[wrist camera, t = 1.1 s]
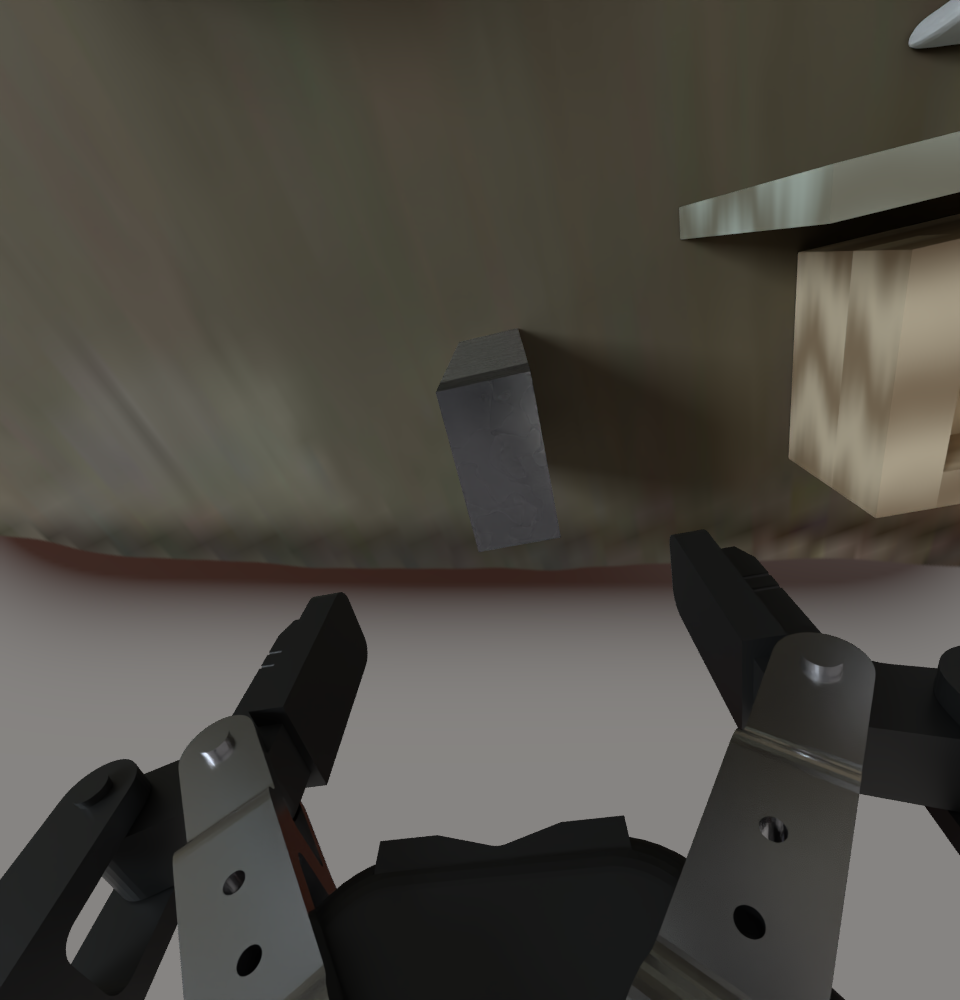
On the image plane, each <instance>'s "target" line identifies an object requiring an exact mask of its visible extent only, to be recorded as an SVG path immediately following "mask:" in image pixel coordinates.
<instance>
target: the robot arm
mask: <svg viewBox="0 0 960 1000" xmlns="http://www.w3.org/2000/svg"><path fill="white" fill-rule="evenodd" d="M670 555H671V569H672V582H673V592H674V598H675V602H676V606H677V609H678V612H679V614H680V616H681V618H682V620H683V622H684V624H685V626H686V628H687V630H688V632H689V634H690V636H691V638H692V640H693V642H694V644H695V645H696V647H697V649H698V651H699V653H700V655H701V657H702V659H703V661H704V663H705V665H706V667H707V669H708V670H709V673H710V674H711V676H712V678H713V680H714V682H715V684H716V686H717V688H718V690H719V692H720V694H721V696H722V697H723V700H724V701H725V703H726V705H727V707H728V709H729V711H730V713H731V715H732V717H733V719H734V721H735V723H736V725H737V727H738V728H737V729H736V730H735V732H734V734H733V736H732V738H731V740H730V743H729V746H728V748H727V751H726V754H725V756H724V759H723V762H722V765H721V767H720V770H719V773H718V775H717V778H716V781H715V784H714V786H713V789H712V792H711V794H710V797H709V799H708V802H707V805H706V808H705V810H704V813H703V816H702V818H701V821H700V824H699V826H698V829H697V832H696V835H695V837H694V840H693V843H692V846H691V848H690V851H689V853H688V856H687V858H685V857H683V856H682V855H680V854H678V853H677V852H675V851H672V850H670V849H668V848H666V847H663V846H661V845H658V844H655V843H652V842H649V841H646V840H642V839H637V838H632V837H629V835H628V830H627V826H626V822H625V817H624V816H615V817H605V818H596V819H586V820H577V821H568V822H560V823H558V824H555V825H553V826H551V827H548V828H545V829H543V830H540V831H538V832H535V833H533V834H530V835H528V836H525V837H523V838H520V839H517V840H515V841H513V842H510V843H507V844H505V845H501V846H490V845H485V844H480V843H475V842H470V841H464V840H459V839H454V838H449V837H443V836H438V835H436V836H426V837H417V838H407V839H399V840H389V841H381V842H380V846H379V851H378V856H377V861H376V865H373V866H371V867H369V868H367V869H365V870H363V871H362V872H360V873H358V874H356V875H355V876H353V877H352V878H351V879H349V880H348V881H346V882H345V883H343V884H342V885H341V886H340V887H338V888H336V886H335V884H334V881H333V879H332V877H331V874H330V872H329V869H328V867H327V864H326V861H325V858H324V856H323V853H322V851H321V848H320V846H319V843H318V840H317V838H316V835H315V832H314V830H313V827H312V825H311V822H310V819H309V817H308V814H307V812H306V809H305V807H304V805H303V804H302V802H301V798H302V796H303V793H304V790H305V788H307V787H315V786H323V785H327V783H328V780H329V777H330V774H331V771H332V767H333V764H334V761H335V758H336V755H337V752H338V749H339V746H340V743H341V740H342V736H343V734H344V730H345V728H346V725H347V721H348V718H349V715H350V712H351V709H352V706H353V703H354V699H355V697H356V694H357V691H358V688H359V685H360V682H361V679H362V675H363V672H364V669H365V666H366V662H367V644H366V640H365V637H364V635H363V632H362V630H361V628H360V625H359V623H358V621H357V618H356V616H355V614H354V611H353V609H352V606H351V604H350V602H349V599H348V597H347V596H346V595H345V594H344V593H342V592H339V593H334V594H328V595H322V596H316V597H313V598H311V600H310V601H309V603H308V604H307V607H306V608H305V610H304V612H303V613H302V615H301V617H300V619H299V620H295V621H293V622H292V624H291V625H289V626H288V627H287V628H286V629H285V630H284V631H283V632H282V633H281V634H280V635H279V636H278V638H277V640H276V642H275V643H274V645H273V647H272V648H271V650H270V655H267V657H266V659H265V660H264V662H263V664H262V665H261V666H262V669H259V671H258V672H257V674H256V676H255V677H254V679H253V681H252V683H251V684H250V686H249V688H248V689H247V691H246V693H245V694H244V696H243V698H242V700H241V701H240V703H239V705H238V707H237V708H236V710H235V712H234V713H233V715H232V716H229V717H226V718H223V719H221V720H218V721H217V722H215V723H213V724H211V725H210V726H208V727H207V728H205V729H204V730H203V731H202V732H200V733H199V734H198V735H197V736H196V737H195V738H194V739H193V740H192V741H191V742H190V743H189V745H188V746H187V747H186V749H185V750H184V752H183V754H182V756H181V758H180V760H178V761H175V762H173V763H170V764H168V765H165V766H163V767H161V768H158V769H156V770H153V771H151V772H148V773H146V774H143V773H142V771H141V770H140V769H139V767H138V766H137V765H136V764H135V763H134V762H133V761H131V760H129V759H122V760H116V761H113V762H110V763H108V764H106V765H103V766H101V767H100V768H98V769H96V770H94V771H93V772H91V773H90V774H88V775H87V776H85V777H84V778H83V779H82V780H80V781H79V782H78V783H77V784H76V785H75V786H73V787H72V788H71V789H70V790H69V792H68V793H67V794H66V795H65V796H64V797H63V798H62V800H61V801H60V802H59V803H58V805H57V806H56V807H55V809H54V810H53V811H52V813H51V814H50V815H49V817H48V818H47V819H46V821H45V822H44V823H43V825H42V826H41V827H40V828H39V830H38V831H37V832H36V834H35V835H34V836H33V838H32V839H31V840H30V841H29V843H28V844H27V845H26V847H25V848H24V849H23V851H22V852H21V853H20V855H19V856H18V857H17V858H16V860H15V861H14V863H13V864H12V865H11V866H10V868H9V869H8V870H7V872H6V873H5V874H4V876H3V877H2V878H1V880H0V1000H144V999H145V997H146V994H147V992H148V990H149V987H150V985H151V983H152V981H153V979H154V976H155V974H156V972H157V969H158V967H159V965H160V962H161V960H162V958H163V956H164V953H165V951H166V949H167V947H168V944H169V942H170V940H171V938H172V935H173V933H174V931H175V929H176V926H177V924H178V935H179V948H180V960H181V971H182V984H183V997H184V1000H845V999H844V998H843V997H842V996H840V995H839V994H838V993H837V992H836V991H835V990H834V989H833V988H832V982H833V975H834V968H835V961H836V954H837V947H838V940H839V932H840V926H841V918H842V912H843V905H844V897H845V890H846V883H847V877H848V870H849V862H850V856H851V848H852V841H853V834H854V827H855V820H856V813H857V806H858V799H859V794H864V795H870V796H874V797H880V798H885V799H891V800H897V801H902V802H907V803H912V804H918V805H924V806H925V807H926V809H927V810H928V811H929V813H930V814H931V815H932V817H933V818H934V820H935V821H936V823H937V824H938V825H939V827H940V828H941V829H942V831H943V832H944V834H945V835H946V837H947V838H948V839H949V841H950V842H951V844H952V845H953V846H954V848H955V849H956V851H957V852H958V853H959V855H960V646H957V647H954V648H951V649H949V650H947V651H946V652H945V653H944V654H943V655H942V656H941V658H940V660H939V665H938V668H927V667H915V666H904V665H894V664H886V663H879V662H874V661H871V660H870V658H869V657H868V656H867V655H866V654H865V653H864V652H863V651H861V650H860V649H859V648H857V647H856V646H854V645H853V644H851V643H849V642H847V641H845V640H843V639H840V638H838V637H834V636H831V635H827V634H822V633H821V632H820V631H819V630H818V629H817V628H816V626H815V625H814V624H813V623H812V622H811V621H810V620H809V618H808V617H807V616H806V615H805V614H804V613H803V612H802V610H801V609H800V608H799V607H798V606H797V605H796V604H795V602H794V601H793V600H792V599H791V598H790V597H789V596H788V594H787V593H786V592H785V591H784V590H783V589H782V588H780V587H779V585H778V583H777V582H776V581H775V579H773V577H772V576H771V575H769V574H768V571H767V570H766V569H765V568H764V567H763V566H762V565H761V563H760V562H759V561H758V560H757V559H756V558H755V557H754V556H752V555H750V554H748V553H746V552H744V551H742V550H740V549H738V548H737V547H735V546H734V547H728V548H722V549H721V548H720V547H719V546H718V544H717V543H716V542H715V541H714V539H713V538H712V537H711V535H710V534H709V533H708V532H707V531H706V530H704V529H703V530H697V531H692V532H686V533H680V534H675V535H671V536H670ZM101 877H103V878H104V879H105V880H106V881H107V882H108V883H109V884H110V885H111V886H112V887H113V888H114V889H113V891H112V893H111V895H110V896H109V898H108V900H107V902H106V903H105V905H104V907H103V909H102V911H101V912H100V914H99V916H98V918H97V919H96V921H95V923H94V925H93V926H92V929H91V930H90V932H89V934H88V935H87V937H86V939H85V941H84V942H83V944H82V946H81V948H80V950H79V951H78V953H77V955H76V956H75V958H74V960H73V962H72V963H71V964H70V963H69V962H68V960H67V957H66V942H67V938H68V935H69V932H70V930H71V927H72V925H73V924H74V922H75V920H76V918H77V917H78V915H79V913H80V912H81V910H82V908H83V907H84V905H85V903H86V902H87V900H88V898H89V897H90V895H91V893H92V892H93V890H94V888H95V887H96V885H97V883H98V882H99V880H100V878H101Z"/></svg>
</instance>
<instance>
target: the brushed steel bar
mask: <svg viewBox="0 0 960 1000" xmlns="http://www.w3.org/2000/svg"><path fill="white" fill-rule="evenodd" d="M436 395H437V398H438V402H439V406H440V410H441V413H442V417H443V421H444V424H445V428H446V432H447V435H448V439H449V443H450V447H451V450H452V454H453V458H454V461H455V465H456V469H457V472H458V476H459V480H460V484H461V487H462V491H463V495H464V498H465V502H466V506H467V509H468V513H469V517H470V521H471V524H472V528H473V532H474V535H475V539H476V543H477V546H478V550H479V552H481V551H486V550H492V549H498V548H503V547H509V546H514V545H520V544H526V543H531V542H537V541H542V540H548V539H554V538H559V537H561V536H560V531H559V525H558V520H557V514H556V509H555V503H554V498H553V492H552V487H551V481H550V476H549V471H548V465H547V460H546V454H545V449H544V443H543V438H542V432H541V427H540V421H539V416H538V410H537V405H536V399H535V394H534V388H533V383H532V377H531V372H530V368H529V365H528V361H527V358H526V355H525V351H524V348H523V344H522V341H521V338H520V334H519V331H518V328H517V329H513V330H509V331H505V332H500V333H496V334H492V335H488V336H483V337H479V338H475V339H471V340H466V341H462V342H459V343H458V345H457V348H456V350H455V352H454V354H453V356H452V358H451V361H450V363H449V365H448V367H447V369H446V371H445V374H444V376H443V378H442V380H441V382H440V384H439V387H438V389H437V391H436Z"/></svg>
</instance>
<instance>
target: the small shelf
mask: <svg viewBox="0 0 960 1000" xmlns="http://www.w3.org/2000/svg"><path fill="white" fill-rule="evenodd" d="M958 192H960V131H959V132H955V133H951V134H947V135H943V136H939V137H936V138H932V139H928V140H924V141H920V142H916V143H912V144H908V145H905V146H901V147H897V148H893V149H889V150H885V151H881V152H877V153H874V154H870V155H866V156H862V157H858V158H854V159H850V160H846V161H842V162H839V163H835V164H831V165H828V166H824V167H821V168H817V169H813V170H810V171H806V172H803V173H799V174H796V175H792V176H789V177H785V178H782V179H778V180H775V181H771V182H768V183H764V184H760V185H757V186H753V187H750V188H746V189H743V190H739V191H736V192H732V193H729V194H725V195H722V196H718V197H715V198H711V199H707V200H704V201H700V202H697V203H693V204H690V205H686V206H683V207H679V218H680V240H681V239H690V238H700V237H709V236H719V235H728V234H737V233H747V232H756V231H766V230H775V229H784V228H794V227H803V226H813V225H822V224H831V223H835V222H839V221H843V220H847V219H851V218H855V217H859V216H863V215H868V214H872V213H876V212H880V211H884V210H888V209H892V208H896V207H900V206H905V205H909V204H913V203H917V202H921V201H925V200H929V199H933V198H937V197H941V196H946V195H950V194H954V193H958ZM789 459H790V460H792V461H793V462H794V463H796V464H797V465H799V466H800V467H802V468H803V469H805V470H806V471H808V472H809V473H811V474H812V475H813V476H815V477H816V478H818V479H819V480H821V481H822V482H824V483H825V484H827V485H828V486H830V487H831V488H832V489H834V490H835V491H837V492H838V493H840V494H841V495H843V496H844V497H846V498H847V499H849V500H850V501H851V502H853V503H854V504H856V505H857V506H859V507H860V508H862V509H863V510H865V511H866V512H868V513H869V514H870V515H872V516H873V517H875V518H879V517H885V516H891V515H897V514H903V513H909V512H915V511H920V510H926V509H932V508H938V507H944V506H950V505H956V504H960V214H957V215H952V216H948V217H944V218H940V219H936V220H931V221H927V222H923V223H919V224H915V225H910V226H906V227H902V228H898V229H894V230H889V231H885V232H881V233H877V234H873V235H869V236H864V237H860V238H856V239H852V240H848V241H843V242H839V243H835V244H831V245H827V246H822V247H818V248H814V249H810V250H806V251H801V252H798V266H797V287H796V309H795V330H794V352H793V373H792V395H791V416H790V438H789Z"/></svg>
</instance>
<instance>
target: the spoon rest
mask: <svg viewBox="0 0 960 1000" xmlns="http://www.w3.org/2000/svg"><path fill="white" fill-rule="evenodd" d="M956 44H960V0H950V1H949V2H948V3H946V4H945V5H943V6H942V7H941V8H939V9H938V10H936V11H935V12H933V13H932V14H930V15H929V16H928V17H926V18H925V19H924V20H923V21H922V22H920V24H919V25H918V26H917V27H916V28H915V30H914V31H913V33H912V34H911V36H910V39H909V46H910V47H912V48H916V49H919V48H930V47H940V46H947V45H956Z"/></svg>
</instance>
